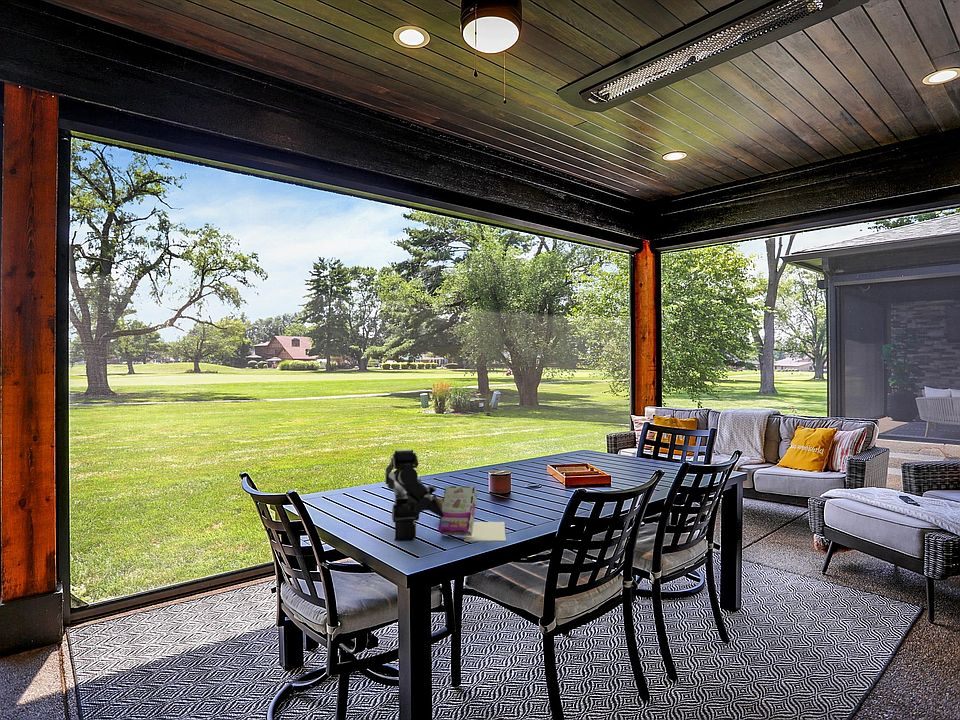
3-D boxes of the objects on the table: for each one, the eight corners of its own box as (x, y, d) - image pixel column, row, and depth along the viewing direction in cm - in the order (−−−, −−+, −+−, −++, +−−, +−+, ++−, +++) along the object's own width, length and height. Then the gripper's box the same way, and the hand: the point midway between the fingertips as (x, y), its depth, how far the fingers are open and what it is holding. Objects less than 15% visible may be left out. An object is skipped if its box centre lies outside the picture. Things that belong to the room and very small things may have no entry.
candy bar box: (472, 536, 196) (478, 491, 205) (468, 532, 192) (474, 485, 201) (441, 535, 199) (449, 490, 208) (437, 530, 195) (445, 485, 204)
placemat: (464, 541, 192) (464, 540, 192) (467, 522, 214) (467, 521, 214) (505, 541, 192) (505, 540, 192) (504, 522, 214) (504, 521, 214)
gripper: (398, 494, 205) (429, 525, 204) (389, 507, 186) (423, 541, 186) (420, 472, 204) (451, 503, 204) (413, 483, 186) (447, 517, 186)
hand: (442, 516), depth 195 cm, fingers closed
